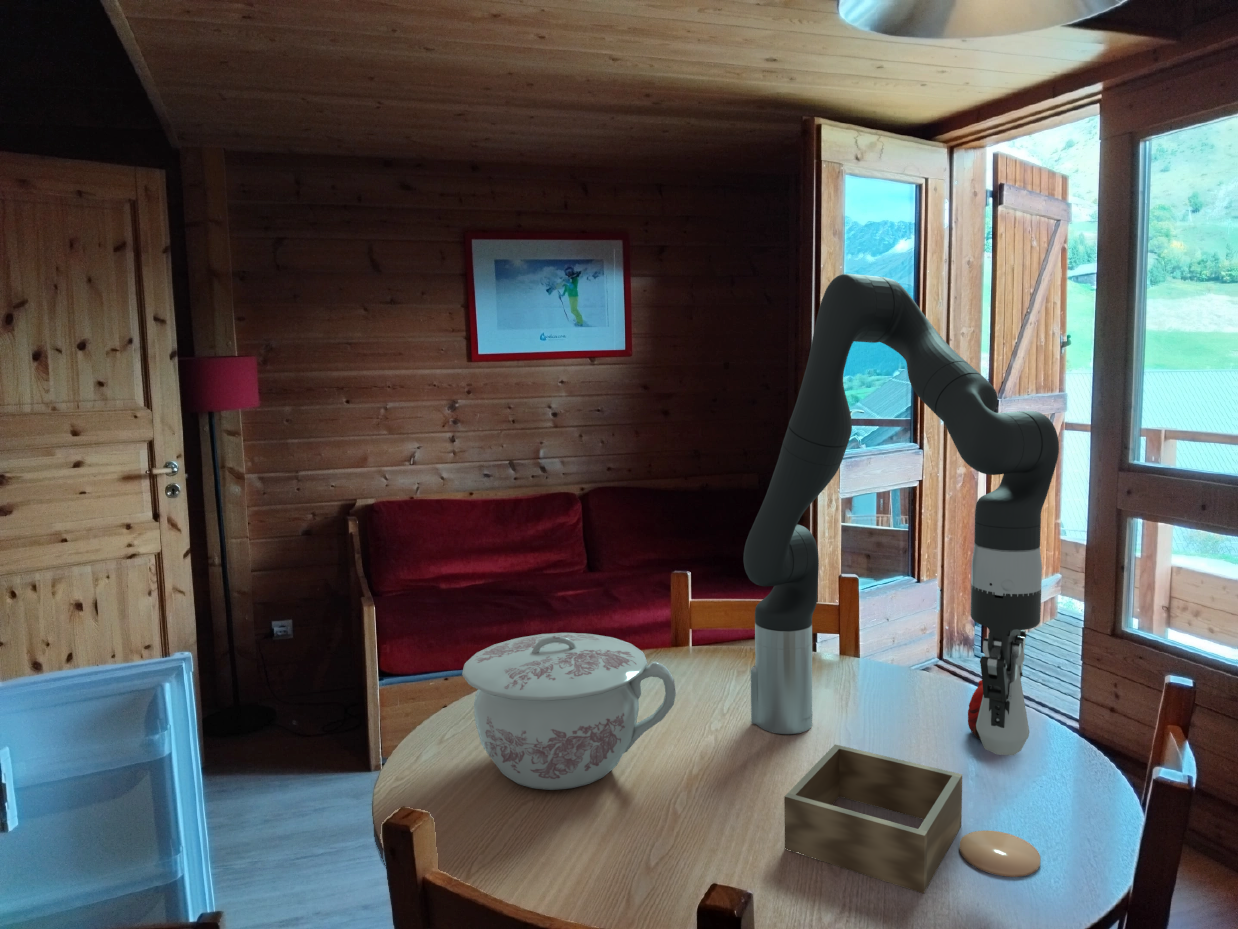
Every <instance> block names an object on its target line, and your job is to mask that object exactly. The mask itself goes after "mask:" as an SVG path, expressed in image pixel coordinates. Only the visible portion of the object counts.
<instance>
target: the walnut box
mask: <svg viewBox="0 0 1238 929" xmlns="http://www.w3.org/2000/svg"><path fill="white" fill-rule="evenodd" d="M783 798H784V803H783V804H784V807H783V808H784V809H783V810H784V811H783V812H784V813H783V814H784V849H785V848H786V849H788V850H791V851H794V852H799V853H801V854H804V855H806V856H805V857H807V856H809V857H808V858H810V857H813V858H816V859H819V860H821V861H820V862H823V861H824V862H823V863H826V862H827V863H826V864H829V863H830V864H829V865H832V866H836V867H838V868H841V869H844V870H845V869H846V870H849V871H851V872H854V873H857V872H858V874H860V875H861V874H862V875H864V876H868V877H870V878H873V879H876V880H880V881H883V882H886V883H889V884H891V885H895V886H899V887H902V888H905V889H909V890H911V891H914V892H918V893H921V894H925V893H926V891H927V889H928V887H929V885H930V883H931V882H932V881H933V878H934V876H935V874H936V873H937V871H938V869H939V867H940V865H941V863H942V861H943V860H944V858H945V856H946V855H947V852H948V851H949V849H950V847H951V845H952V844H953V842H954V840H955V838H956V836H957V835H958V833H959V831H960V829H961V827H962V816H963V815H962V814H963V813H962V812H963V810H962V809H963V805H962V804H963V774H962V773H958V772H954V771H950V770H946V769H941V768H938V767H937V768H936V767H932V766H929V765H925V764H920V763H916V762H912V761H907V760H904V759H898V758H894V757H890V756H886V755H882V754H877V753H873V752H869V751H864V750H862V749H861V750H860V749H857V748H852V747H850V746H849V747H848V746H844V745H840V744H837V743H835V744H833V745H832V747H831V748H830V749H828V751H827V752H826V753H825V754H824V755H823V756H821V758H820V759H819V760H818V761H817V762H816V763H815V764H814V765H813V767H812V768H810V769H809V770H808V771H807V773H805V774H804V776H803V777H802V778H801V779H799V781H798V782H797V783H795V784H794V786H793V787H792V788H791V789H790V790H789V791H788V792H787V793H786V794H784V797H783ZM839 798H843V799H847V800H850V801H854V802H858V803H861V804H866V805H869V806H873V807H876V808H879V809H882V810H883V809H884V810H887V811H891V812H894V813H899V814H901V815H906V816H910V817H912V818H913V817H914V818H917V819H921V820H923V821H922V823H921V825H920V826H919V827H918V828H916V827H911V826H909V825H904V824H902V823H897V822H893V821H891V820H887V819H883V818H881V817H880V818H879V817H876V816H873V815H869V814H864V813H860V812H858V811H854V810H851V809H847V808H843V807H840V806H836V805H834V804H835V802H836V801H837V800H838V799H839ZM788 850H787V851H788ZM791 851H790V852H791ZM794 852H793V853H794ZM801 854H800V855H801ZM804 855H803V856H804ZM813 858H812V859H813ZM816 859H815V860H816ZM819 860H818V861H819Z"/></svg>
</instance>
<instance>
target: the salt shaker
mask: <svg viewBox="0 0 1238 929" xmlns="http://www.w3.org/2000/svg"><path fill="white" fill-rule="evenodd" d="M1011 658H1012V654H1011ZM1024 662H1025V648H1024V649H1023V648H1022V647H1021V655H1020V656H1019V657H1018V659H1017V664H1018V668H1017V679H1016V680H1015V681H1014V682H1012V690H1011V695H1012V699H1011V700H1010V708H1009V714H1008V712H1007V710H1006V709H1005V723H1004V728H1001V727H998V726H991V710H990V711H989V699H988V698H984V695H983V698H982V702H981V706H980V710H979V715H978V719H977V723H976V729H977V731H978V734H979V736H980V739H979V740H980V741H981V744H982V746H983V748H984V750H986V751H988V752H991V753H993V754H995V755H998V756H999V755H1000V756H1015V755H1017V754H1018V753H1019V752H1021V751H1022V750H1023V748H1024V746H1025V744H1026V742H1027V740H1028V738H1029V737H1030V727H1029V721H1028V715H1027V708H1026V703H1025V697H1024V690H1023V685H1022V677H1021V678H1020V672H1019V666H1020V665H1022V664H1023V665H1024ZM1010 672H1011V671H1006V673H1010ZM993 688H995V689H1000V690H1001V688H1000V687H997V686H994V687H993ZM997 706H998V705H997ZM998 707H1000V706H998ZM997 714H999V713H997ZM996 720H997V721H999V719H996Z"/></svg>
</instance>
